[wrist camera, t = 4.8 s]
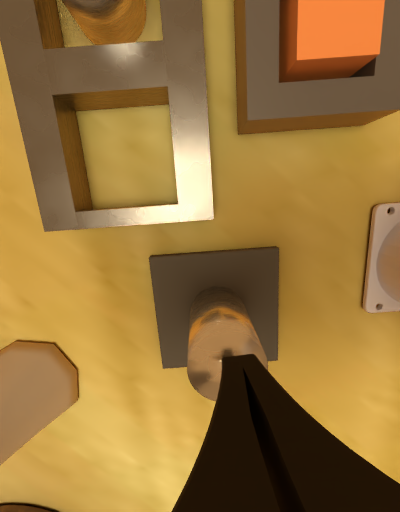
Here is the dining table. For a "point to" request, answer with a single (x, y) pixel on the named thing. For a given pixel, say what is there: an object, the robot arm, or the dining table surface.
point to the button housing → (308, 92)
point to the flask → (32, 391)
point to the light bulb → (109, 19)
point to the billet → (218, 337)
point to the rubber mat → (207, 276)
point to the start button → (327, 37)
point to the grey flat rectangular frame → (105, 97)
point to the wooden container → (21, 508)
